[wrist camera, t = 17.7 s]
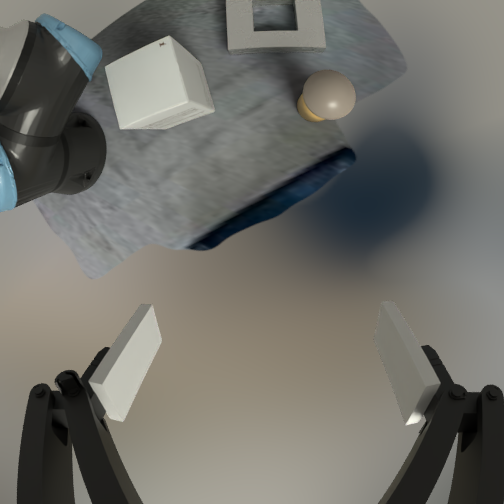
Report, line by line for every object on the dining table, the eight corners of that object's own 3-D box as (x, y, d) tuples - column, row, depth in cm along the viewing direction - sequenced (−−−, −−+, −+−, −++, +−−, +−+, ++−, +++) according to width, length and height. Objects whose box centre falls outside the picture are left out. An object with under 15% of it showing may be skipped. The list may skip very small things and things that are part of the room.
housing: (230, 55, 37) (228, 49, 34) (228, -5, 32) (225, -13, 29) (322, 53, 35) (325, 47, 33) (315, -7, 31) (317, -15, 28)
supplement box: (150, 82, 39) (102, 64, 25) (201, 62, 37) (170, 32, 23) (163, 131, 42) (117, 131, 28) (216, 112, 40) (189, 101, 27)
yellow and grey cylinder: (295, 124, 40) (304, 118, 28) (293, 88, 38) (301, 68, 26) (333, 125, 40) (356, 120, 28) (331, 89, 38) (353, 71, 26)
